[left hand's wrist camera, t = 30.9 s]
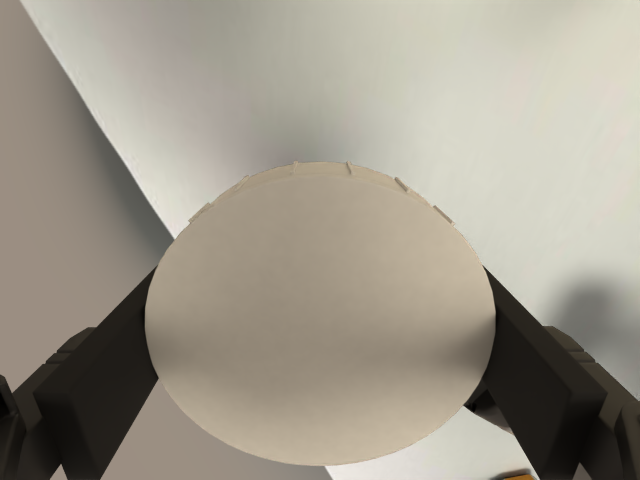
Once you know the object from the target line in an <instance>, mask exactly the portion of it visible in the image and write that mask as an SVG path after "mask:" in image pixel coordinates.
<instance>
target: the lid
mask: <svg viewBox="0 0 640 480" xmlns="http://www.w3.org/2000/svg"><path fill="white" fill-rule="evenodd" d="M188 221H189V222H190V224H189V225H188V226H187V227H186V228H185V229H184V230H183V231H182V232H181V233H180V234H179V235H178V237H177V238H176V239H175V240H174V242H173V243H172V244H171V245H170V247H169V248H168V249H167V251H166V252H165V254H164V256H163V258H162V259H161V260H160V263H159V265H158V266H157V268H156V271H155V273H154V276H153V279H152V281H151V284H150V287H149V291H148V296H147V301H146V306H145V334H146V340H147V345H148V349H149V354H150V358H151V361H152V364H153V367H154V369H155V371H156V373H157V375H158V377H159V379H160V381H161V383H162V385H163V386H164V388H165V389H166V391H167V392H168V394H169V395H170V397H171V398H172V399H173V400H174V402H175V403H176V404H177V405H178V406H179V408H180V409H181V410H182V411H183V412H184V413H185V414H186V415H187V416H188V417H189V418H191V419H192V420H193V421H194V422H195V423H196V424H197V425H199V426H200V427H201V428H203V429H204V430H205V431H207V432H208V433H210V434H211V435H213V436H214V437H216V438H218V439H220V440H221V441H223V442H225V443H226V444H228V445H231V446H233V447H235V448H237V449H239V450H242V451H244V452H247V453H250V454H253V455H256V456H258V457H261V458H265V459H269V460H274V461H278V462H283V463H290V464H297V465H311V466H330V465H343V464H351V463H358V462H362V461H367V460H371V459H376V458H379V457H382V456H385V455H388V454H391V453H394V452H396V451H399V450H401V449H403V448H406V447H408V446H410V445H412V444H414V443H416V442H417V441H419V440H421V439H423V438H425V437H426V436H428V435H429V434H431V433H432V432H433V431H435V430H436V429H438V428H439V427H441V426H442V425H443V424H444V423H445V422H446V421H448V420H449V419H450V418H451V417H452V416H453V415H454V414H455V413H456V412H457V411H458V410H459V409H460V408H461V407H462V406H463V405H464V403H465V402H466V401H467V400H468V399H469V397H470V396H471V394H472V393H473V391H474V390H475V388H476V387H477V385H478V384H479V382H480V380H481V378H482V376H483V374H484V372H485V370H486V368H487V365H488V362H489V359H490V355H491V351H492V346H493V342H494V337H495V326H496V311H495V305H494V299H493V292H492V289H491V286H490V283H489V280H488V277H487V274H486V272H485V270H484V268H483V266H482V264H481V262H480V260H479V258H478V256H477V255H476V253H475V252H474V250H473V249H472V248H471V246H470V245H469V244H468V242H467V241H466V240H465V238H464V237H463V236H462V235H461V234H460V233H459V232H458V231H457V230H456V229H455V228H454V227H453V225H455V223H454V222H453V221H452V220H451V219H450V218H449V217H447V216H446V215H445V214H444V213H443V212H442V211H441V210H440V209H439V208H438V207H437V206H434V207H432V206H431V205H430V204H429V203H428V202H427V201H426V200H425V199H424V198H423V197H421V196H420V195H419V194H417V193H416V192H415V191H413V190H412V189H410V188H409V187H408V186H406V185H405V184H404V183H403V182H402V181H401V180H400V179H399V178H397V177H396V178H395V179H393V178H391V177H389V176H387V175H384V174H382V173H379V172H376V171H373V170H371V169H368V168H364V167H359V166H355V165H352V164H351V162H348V161H347V164H345V163H334V162H305V163H298V161H294V163H293V164H291V165H285V166H280V167H276V168H273V169H270V170H267V171H264V172H261V173H258V174H256V175H254V176H252V177H250V178H249V176H248V175H247V176H245V177H244V178H243V179H242V180H241V181H240V182H239V183H237V184H236V185H235V186H233V187H232V188H230V189H229V190H227V191H226V192H224V193H223V194H221V195H220V196H219V197H218V198H217V199H216V200H215V201H213V202H212V203H211V204H209V203H207V204H206V205H205V206H204V207H202V208H201V209H200V210H199V211H198V212H197V213H196V214H195V215H194V216H193V217H192V218H191V219H189V220H188Z"/></svg>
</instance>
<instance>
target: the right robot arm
mask: <svg viewBox="0 0 640 480" xmlns="http://www.w3.org/2000/svg"><path fill="white" fill-rule="evenodd" d="M463 406H465V407H466V408H467V409H468V410H470V411H471V412H473V413H474V414H476V415H478V416H480V417H481V418H483V419H485V420H487V421H489V422H491V423H492V424H494V425H497V426H498V427H500V428H501V429H503V430H505V431H507V432H509V433H511V434H512V435H514V434H513V432H512V430H511V428H510V427H509V425H508V423H507V422H506V420H505V418H504V416H503V415H502V413H501V411H500V409H499V408H498V406H497V404H496V403H495V401H494V399H493V397H492V396H491V394H490V392H489V390H488V389H487V387H486V385H485V384H484V382H483V380H482V378H481V380H480V382H479V384H478V385H477V387H476V388H475V390H474V391H473V393H472V394H471V396H470V397H469V399H468V400H467V401H466V402H465V403H464V405H463ZM514 436H515V435H514ZM590 479H591V477H590V476H589V475H588V473H587V472H586V470H585V469H584V468H583V466H582V465H581V463H579V465H578V468H577V470H576V472H575V475H574V477H573V480H590Z"/></svg>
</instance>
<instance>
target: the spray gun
mask: <svg viewBox="0 0 640 480" xmlns="http://www.w3.org/2000/svg"><path fill="white" fill-rule="evenodd" d="M503 480H537V479H536V478H535V477H534V476H532V475H530V474H527V475H522V476H516V477H511V478H505V479H503Z"/></svg>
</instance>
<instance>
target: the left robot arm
mask: <svg viewBox="0 0 640 480" xmlns="http://www.w3.org/2000/svg"><path fill="white" fill-rule="evenodd" d="M158 265H159V264H158ZM158 265H157V266H158ZM157 266H156V267H155V268H154V269H153V270H152V271H151V272H150V273H149V274H148V275H147V277H145V278H144V280H143V281H142V282H141V283H140V284H139V285H138V286H137V287H136V288H135V289H134V290H133V291H132V292H131V293H130V294H129V295H128V296H127V297H126V298H125V299H124V300H123V301H122V302H121V303H120V304H119V305H118V306H117V307H116V308H115V309H114V310H113V311H112V312H111V313H110V314H109V315H108V316H107V317H106V318H105V319H104V320H103V321H102V322H101V323H100V324H99V325H98V326H97V327H88V328H86V329H85V330H83V331H81V332H80V333H78V334H76V335H75V336H73V337H71V338H70V339H69V340H68V341H67V342H66V343H64V344H63V345H62V346H61V347H60V348H59V349H58V350H57V353H54V354H53V355H52V356H51V357H50V358H49V359H48V360H47V361H46V363H45V364H42V365H41V366H40V367H39V368H38V369H37V370H36V371H35V372H34V373H33V374H32V375H31V376H30V377H29V378H28V379H27V380H26V381H25V382H24V383H23V384H21V385H20V386H19V387H18V388H17V389H16V390H15V391H14V392H13V393H11V390H10V388H9V386H8V383H7V381H6V379H5V377H4V376H2V375H0V480H50V478H51V477H52V475H53V474H54V473H55V471H56V470H57V468H58V467H59V466H60V464H62V467H63V469H64V472H65V474H66V477H67V479H68V480H100V479H101V477H102V475H103V474H104V472H105V470H106V469H107V467H108V465H109V463H110V462H111V460H112V458H113V456H114V455H115V453H116V451H117V450H118V448H119V446H120V444H121V443H122V441H123V439H124V437H125V436H126V434H127V432H128V431H129V429H130V427H131V425H132V423H133V422H134V420H135V418H136V417H137V415H138V413H139V411H140V410H141V408H142V406H143V405H144V403H145V401H146V399H147V398H148V396H149V394H150V393H151V391H152V389H153V387H154V386H155V384H156V382H157V380H158V379H159V377H158V375H157V373H156V371H155V369H154V367H153V364H152V361H151V358H150V354H149V349H148V345H147V340H146V334H145V306H146V301H147V296H148V291H149V287H150V284H151V281H152V279H153V276H154V273H155V271H156V268H157ZM482 266H483V265H482ZM483 268H484V270H485V272H486V274H487V277H488V280H489V283H490V286H491V289H492V292H493V299H494V305H495V311H496V326H495V337H494V342H493V346H492V351H491V355H490V359H489V362H488V365H487V368H486V370H485V372H484V374H483V376H482V380H483V382H484V384H485V385H486V387H487V389H488V390H489V392H490V394H491V396H492V397H493V399H494V401H495V403H496V404H497V406H498V408H499V409H500V411H501V413H502V415H503V416H504V418H505V420H506V422H507V423H508V425H509V427H510V428H511V430H512V432H513V434H514V435H515V437H516V439H517V441H518V442H519V444H520V446H521V447H522V449H523V451H524V453H525V454H526V456H527V458H528V459H529V461H530V463H531V465H532V466H533V468H534V470H535V472H536V473H537V475H538V477H539V478H540V480H573V477H574V475H575V472H576V470H577V468H578V465H579V463H581V465H582V466H583V468H584V469H585V470H586V472H587V473H588V475H589V476H590V477H591V479H590V480H640V401H638V400H637V399H636V398H634V397H633V396H632V395H631V394H630V393H629V392H628V391H627V390H626V389H625V388H624V387H623V386H622V385H621V384H620V383H619V382H618V381H617V380H615V379H614V378H613V377H612V376H611V375H610V374H609V373H608V372H607V371H606V370H605V369H604V368H603V367H602V366H601V365H600V364H599V363H595V360H594V359H593V358H592V357H591V356H590V355H589V354H588V353H587V352H584V349H583V348H582V347H581V346H580V345H578V344H577V343H576V342H575V341H574V340H573V339H572V338H571V337H570V336H568V335H566V334H565V333H563V332H561V331H560V330H558V329H556V328H554V327H553V326H542V325H541V324H540V323H539V322H538V321H537V320H536V319H535V318H534V317H533V316H532V315H531V314H530V313H529V312H528V311H527V310H526V309H525V308H524V307H523V306H522V305H521V304H520V303H519V302H518V301H517V300H516V299H515V298H514V297H513V296H512V295H511V293H510V292H509V291H508V290H507V289H506V288H505V287H504V286H503V285H502V284H501V283H500V282H499V281H498V280H497V279H496V278H495V277H494V276H493V275H492V274H491V273H490V272H489V271H488V270H487V269H486V268H485V267H484V266H483Z"/></svg>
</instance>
